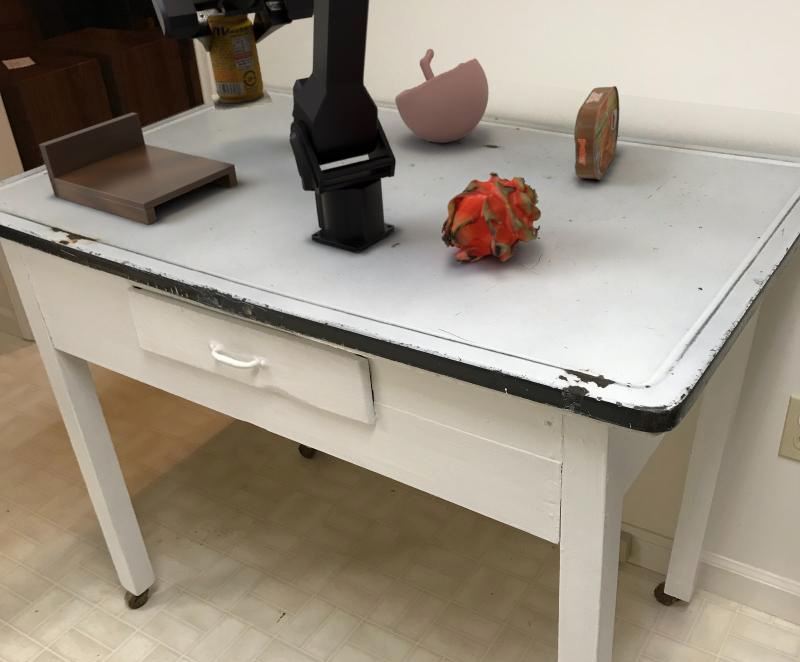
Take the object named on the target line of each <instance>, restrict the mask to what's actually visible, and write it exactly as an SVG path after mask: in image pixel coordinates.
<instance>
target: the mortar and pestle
mask: <svg viewBox="0 0 800 662" xmlns="http://www.w3.org/2000/svg"><path fill="white" fill-rule="evenodd" d="M434 57H435V51H434V49H432V48H428V49H427V50H426V52H425V55H424V56H423V57H422V58H421V59H420V60H419V67H420V70H421V72H422V74H423V77H424V79H425V81H424V82H422V83H420V84H418V85H417V86H414V87H412V88H408V89H404V90H403V91H400V93H398V94H397V95H396V96H395V98H394V101H395V106H396V108H397V111H398V114H399V116H400V118H401V120H402V121H403V123H404V124H405V126H406V127H407V128H408V130H410V131H411V132H412V133H413V134H414V135H416V136H417V137H419V138H421V139H423V140H425V141H429V142H432V143H440V144H441V143H451V142H455V141H457V140H460V139H462V138H464V137H466V136H467V135H469V134H470V133H471V132H472V131H473V130H474V129H476V127H477V126H478V125H479V124H480V123H481V120H482V119H483V117H484V115H485V113H486V110H487V107H488V102H489V94H490V93H489V81H488V79H487V78H488V77H487V76H486V73H485V70H484V68H483V67H482V65H481V63H480V62H479V60H478V59H477V58H473V59H470V60H467V61H466V62H460V63H459V64H458V65H456V66H455V67H454V68H451V69H449V70H447V71H444V72H442V73H439V74H437V75H435V74H434V72H433V69H432V66H431V63H432V60H433V58H434Z"/></svg>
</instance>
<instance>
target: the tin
mask: <svg viewBox="0 0 800 662" xmlns="http://www.w3.org/2000/svg"><path fill="white" fill-rule="evenodd" d="M619 96H620V95H619V90H618V87H617V86H616V85H613V86H601V87H600V86H599V87H595V88H592V90H591V91H590V93H589V94H588V95H587V97H586V98H585V100H584V102H583V103H582V105H581V106H580V107H579V109H578V111H577V114H576V119H575V124H574V133H573V136H574V137H573V138H574V139H573V140H574V150H575V151H574V153H575V157H574V158H575V163H574V171H575V175H576V177H577V178H578V179H583V180H597V181H600V180H602V179H603V177H604V175H605V173H606V171H607V170H608V167H609V165H610V164H611V162H612V160H613V158H614V156H615V153H616V149H617V144H618V139H619V138H618V137H619V126H620V125H619V124H620V97H619Z"/></svg>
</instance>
